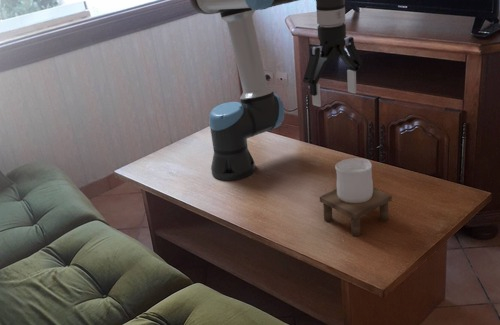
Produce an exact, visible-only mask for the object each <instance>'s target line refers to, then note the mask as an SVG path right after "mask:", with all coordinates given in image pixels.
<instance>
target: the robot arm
mask: <svg viewBox="0 0 500 325" xmlns="http://www.w3.org/2000/svg"><path fill="white" fill-rule="evenodd" d="M298 1H300V0H189V2H190V5H191V6H192V8H193V9H194V10H195V11H196V12H198V13H199V14H202V15H215V14H220V17H221V19H222V20H223V21H225V22H226V23H227V24H226V25H227V28H228V33H229V37H230V42H231V46H232V50H233V53H234V54H233V55H234V58H235V62H236V67H237V71H238V75H239V80H240V84H241V88H242V94H241V96H240V97H239V98H240V100H239V101H240V102H239V101H229V102H223V103H221V104H219V105H217V106H215V107H214V108H212V110H210V113H209V116H208V117H209V118H208V119H209V129H210V134H211V141H212V146H213V147H212V148H213V156H212V159H211V160H212V161H211V168H210V170H211V175H212V177H213V178H215V179H216V180H217V179H218V180H222V181H237V180H241V179H244V178H246V177H249V176H250V175H252V174H253V173H254V172H255V171H256V164H255V160H254V158H253V156H252V155H251V152H250V150H249V148H248V146H249V145H248V140H247V139H249V138H252V137H255V136H257V135H260V134H263V133H266V132H270V131H272V130H275V129H276V128H279V127H280V126H281V125H282V123H283V121H284V119H285V107H284V106H285V105H284V103H283V101H282V100H281V97H280V96H279V95H278V94H275V93H274V89H272V88H270V86H268V82H267V78H266V77H267V76H266V74H265V73H266V72H265V69H264V64H263V59H262V55H261V50H260V47H259V41H258V37H257V32H256V27H255V22H254V19H253V18H254V17H253V15H254V14H255V11H262V10H266V9H269V8H272V7H273V8H274V7H277V6H280V5H284V4H291V3H294V2H298ZM345 1H346V0H315V3H316V5H315V7H316V22H317V23H316V24H317V25H318V26H317V39H318V40H319V45H318V46H313V45H312V46H310V53H309V54H310V55H309V58H308V62H307V65H306V70H305V73H304V76H303V80H302V81H303V83H306V84H308V85H309V92H310V93H309V94H310V96H311V100H312V105H313V106H316V107H318V108H321V106H322V97H321V84H320V83H319V81H320V78H321V76H322V74H323V72H324V71H325V68H326V66H327V65H328V63H329V62H330V61H332V60H334V59H336V58H337V59H338V58H340V59H341V60H342V62H344V64H345V65H346V66H347V67H348V69H347V70H346V75H347V76H346V78H347V92H348V93H350V94H357V81H358V71H360V70H361V68H362V67H363V61H362V59H361V57H360V55H359V52H358V50H357V47H356V46H355V40H354V37H353V36H349V35H347V29H346V28H347V27H346V26H347V25H346V24H345V22H346V2H345ZM345 48H346V49H345Z"/></svg>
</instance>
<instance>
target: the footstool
mask: <svg viewBox="0 0 500 325" xmlns="http://www.w3.org/2000/svg"><path fill="white" fill-rule="evenodd" d="M392 199H393V198H392V195H391V194H388V193H386V192H384V191H381V190H379V189H377V188H375V187H373V194H372V197H371V199H369V200H368V201H366V202H362V203H347V202H344V201H342V200H340V199H339V198H338V196H337V188H336V189H333V190H331V191H329V192H327V193H325V194H322V195H321V196H319V202H320V203H322V207H323V221H324V222H326V223H330V222H332V221H333V219H334V218H333V209H334V210H336V211H338V212H340V213H341V214H344V215H346V216H347V217H349V218H350V224H351V225H350V226H351V227H350V228H351V236H352V237H356V238H357V237H360V236H361V217H363V216H365V215H366V214H368V213H371V212H373V211H375V210H376V209H378V208H379V221H381V222H388V221H389V203H390V202H391V201H392Z"/></svg>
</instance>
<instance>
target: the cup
mask: <svg viewBox="0 0 500 325" xmlns="http://www.w3.org/2000/svg"><path fill="white" fill-rule="evenodd" d="M334 168H335V172H336V189H337V196H338V198H339V199H340V200H342V201H344V202H347V203H362V202H366V201H368V200H369V199H371V197H372V194H373V188H374V184H373V183H374V182H373V172H372V171H373V169H372V168H373V164H372V162H371V161H370V160H368V159H366V158H364V157H363V158H362V157H351V158H345V159H342V160H340V161H338V162H337V163H336V164H335V166H334Z"/></svg>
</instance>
